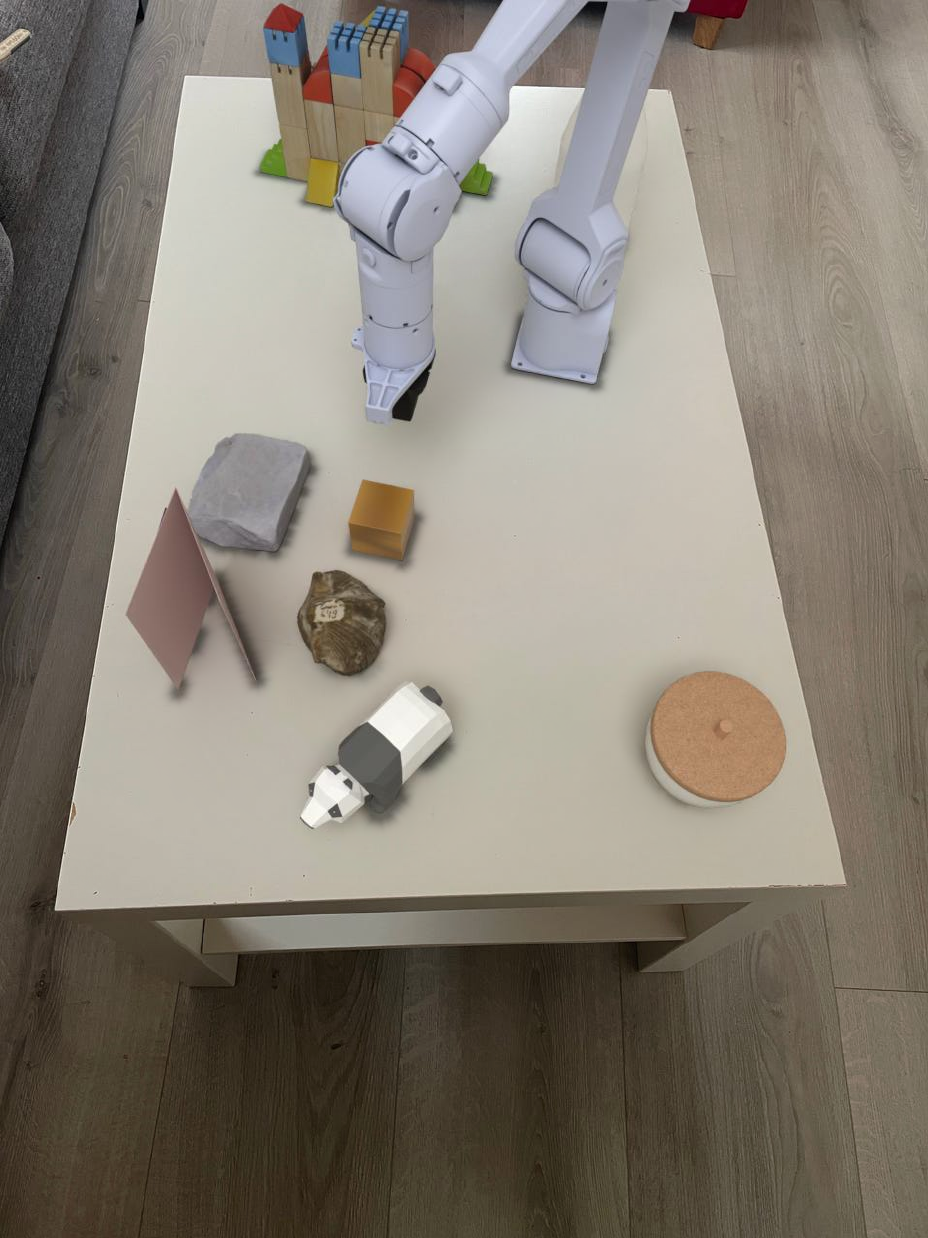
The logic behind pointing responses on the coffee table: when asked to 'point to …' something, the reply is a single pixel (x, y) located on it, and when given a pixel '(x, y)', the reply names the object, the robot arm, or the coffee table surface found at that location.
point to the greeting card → (175, 592)
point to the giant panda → (379, 755)
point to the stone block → (248, 491)
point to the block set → (342, 96)
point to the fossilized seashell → (342, 622)
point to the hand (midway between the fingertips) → (401, 414)
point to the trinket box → (714, 740)
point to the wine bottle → (631, 168)
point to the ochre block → (382, 519)
